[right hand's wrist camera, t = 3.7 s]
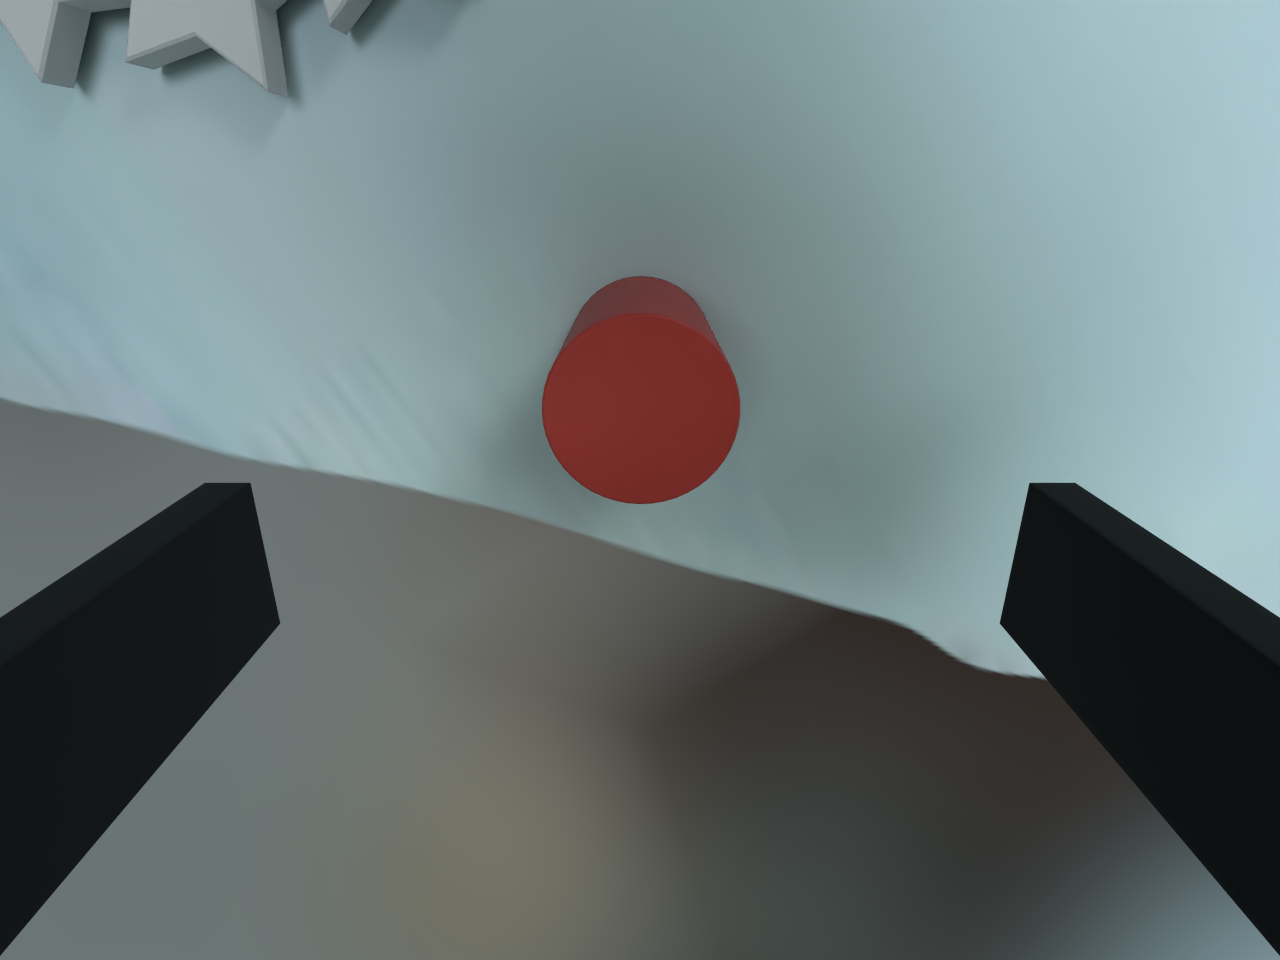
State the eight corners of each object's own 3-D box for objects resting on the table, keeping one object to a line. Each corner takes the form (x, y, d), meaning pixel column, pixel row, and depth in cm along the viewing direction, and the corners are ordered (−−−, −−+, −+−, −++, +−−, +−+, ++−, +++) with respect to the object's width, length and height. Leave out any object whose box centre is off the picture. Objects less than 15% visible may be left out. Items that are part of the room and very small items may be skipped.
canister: (563, 406, 29) (532, 491, 21) (579, 265, 27) (552, 298, 19) (697, 425, 29) (720, 516, 21) (723, 288, 27) (759, 329, 19)
